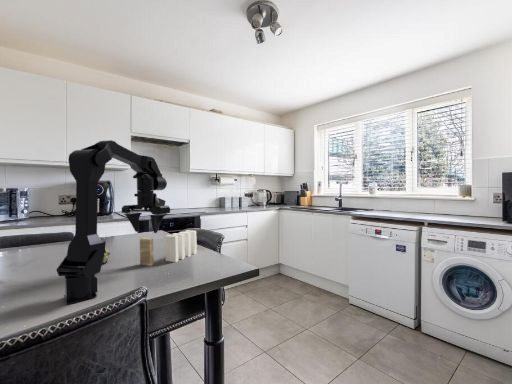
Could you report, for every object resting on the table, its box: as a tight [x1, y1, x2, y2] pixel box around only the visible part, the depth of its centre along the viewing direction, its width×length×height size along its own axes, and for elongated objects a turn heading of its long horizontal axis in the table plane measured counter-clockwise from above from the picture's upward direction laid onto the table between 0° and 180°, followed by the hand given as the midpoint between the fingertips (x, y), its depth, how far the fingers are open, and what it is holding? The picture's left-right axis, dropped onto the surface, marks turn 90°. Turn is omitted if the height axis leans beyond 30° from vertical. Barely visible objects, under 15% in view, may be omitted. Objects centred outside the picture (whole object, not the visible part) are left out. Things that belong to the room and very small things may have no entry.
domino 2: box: [164, 234, 180, 263], centre depth 100 cm, size 2×5×10 cm, turn 68°
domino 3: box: [171, 232, 186, 260], centre depth 104 cm, size 2×5×10 cm, turn 68°
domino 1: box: [139, 237, 155, 267], centre depth 96 cm, size 2×5×10 cm, turn 67°
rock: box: [77, 247, 111, 269], centre depth 97 cm, size 11×6×10 cm
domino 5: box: [184, 229, 198, 255], centre depth 111 cm, size 2×5×10 cm, turn 68°
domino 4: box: [178, 231, 192, 258], centre depth 108 cm, size 2×5×10 cm, turn 68°
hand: (146, 232), depth 95 cm, fingers open, 9 cm apart
